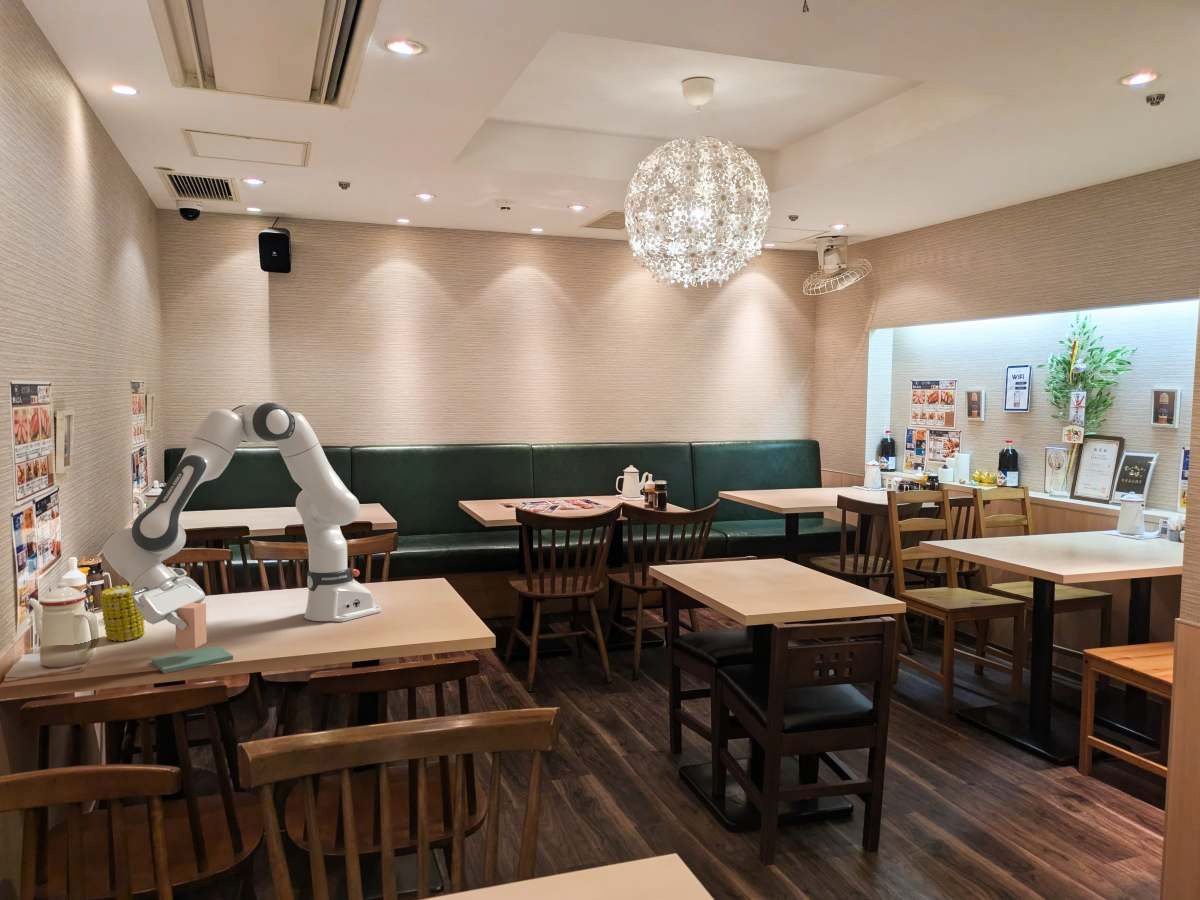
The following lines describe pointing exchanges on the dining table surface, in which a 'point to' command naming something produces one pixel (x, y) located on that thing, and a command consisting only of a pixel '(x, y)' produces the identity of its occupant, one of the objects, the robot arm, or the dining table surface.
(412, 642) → the dining table surface
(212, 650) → the green pad
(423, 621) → the dining table surface
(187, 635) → the terracotta block
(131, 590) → the food
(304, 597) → the dining table surface
